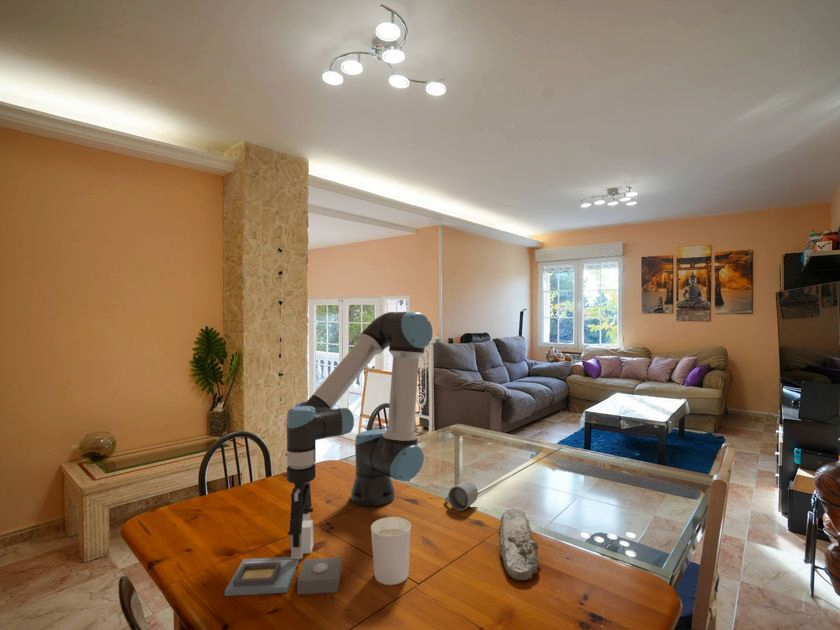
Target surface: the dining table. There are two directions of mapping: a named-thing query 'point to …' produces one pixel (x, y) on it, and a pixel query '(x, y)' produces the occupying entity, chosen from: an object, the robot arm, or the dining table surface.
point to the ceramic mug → (462, 495)
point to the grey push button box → (319, 576)
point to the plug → (306, 536)
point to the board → (262, 576)
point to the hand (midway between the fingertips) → (301, 547)
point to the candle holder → (391, 549)
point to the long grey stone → (517, 545)
